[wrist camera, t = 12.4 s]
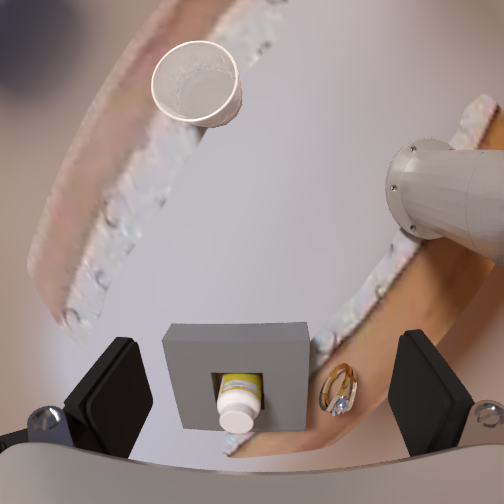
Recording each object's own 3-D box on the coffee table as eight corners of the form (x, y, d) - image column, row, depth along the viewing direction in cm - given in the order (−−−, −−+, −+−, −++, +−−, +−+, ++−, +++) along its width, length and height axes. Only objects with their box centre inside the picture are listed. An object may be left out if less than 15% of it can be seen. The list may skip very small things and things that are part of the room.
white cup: (198, 61, 33) (175, 31, 23) (258, 84, 33) (253, 57, 24) (170, 118, 35) (137, 105, 25) (229, 143, 35) (214, 135, 26)
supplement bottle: (250, 394, 44) (244, 443, 34) (217, 379, 43) (205, 426, 34) (269, 370, 42) (267, 419, 33) (235, 353, 42) (225, 400, 32)
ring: (326, 391, 44) (333, 428, 36) (309, 383, 43) (314, 421, 36) (356, 359, 42) (369, 394, 34) (339, 350, 42) (350, 385, 34)
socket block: (306, 321, 41) (309, 339, 36) (303, 410, 45) (305, 430, 41) (171, 323, 42) (161, 340, 38) (189, 409, 46) (183, 428, 42)
